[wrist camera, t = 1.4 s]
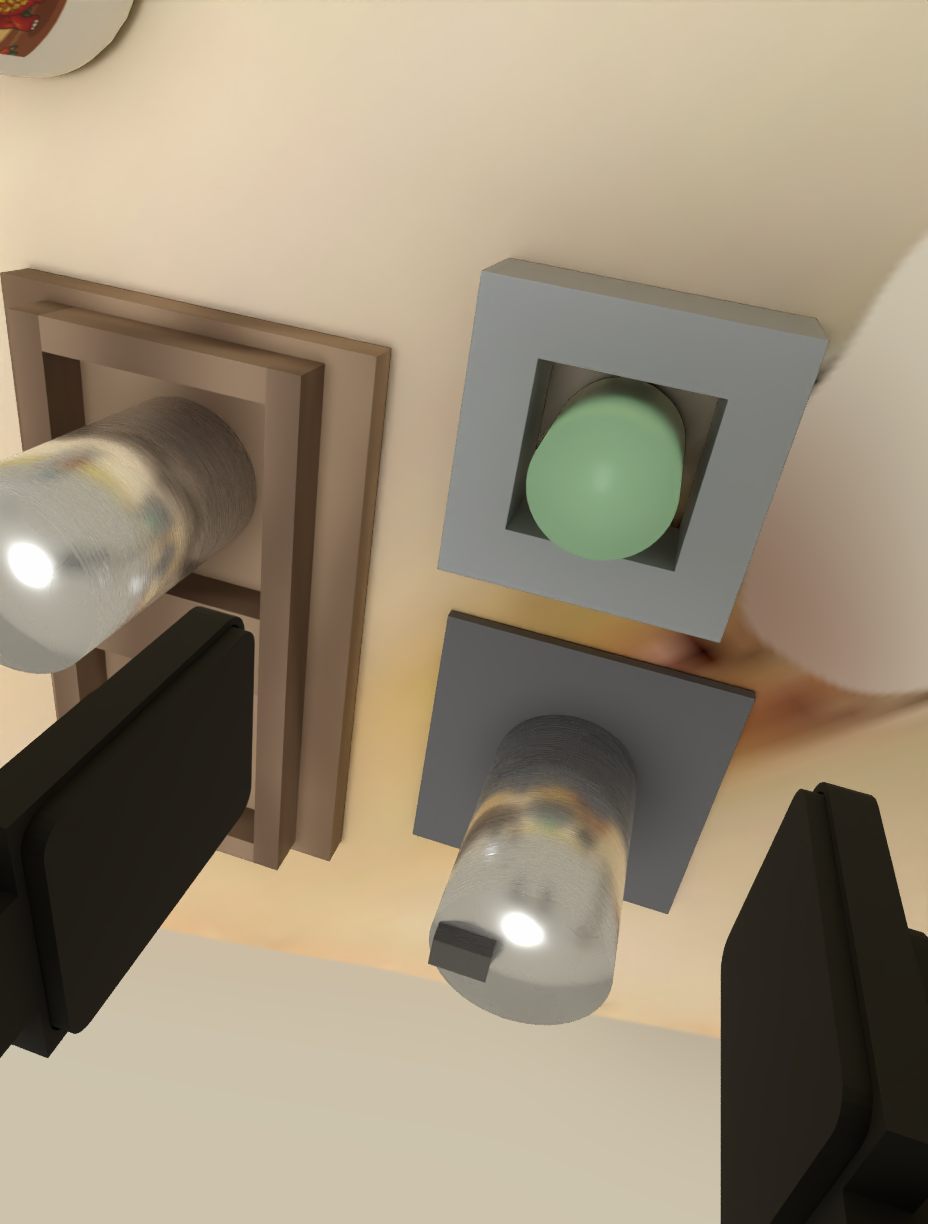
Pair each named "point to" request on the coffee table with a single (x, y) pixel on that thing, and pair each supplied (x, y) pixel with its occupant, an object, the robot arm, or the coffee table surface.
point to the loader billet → (112, 524)
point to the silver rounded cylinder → (541, 875)
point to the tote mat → (603, 694)
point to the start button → (609, 470)
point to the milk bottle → (56, 34)
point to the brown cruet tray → (277, 533)
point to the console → (642, 350)
